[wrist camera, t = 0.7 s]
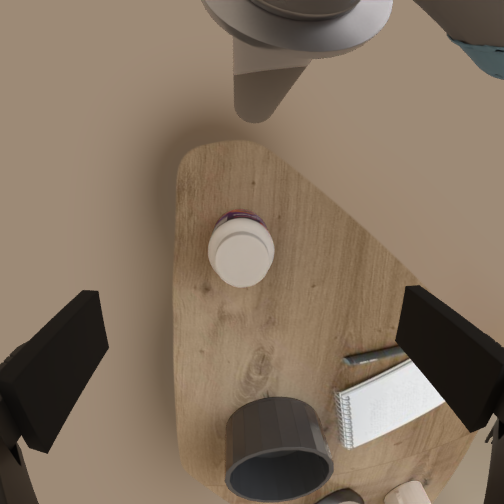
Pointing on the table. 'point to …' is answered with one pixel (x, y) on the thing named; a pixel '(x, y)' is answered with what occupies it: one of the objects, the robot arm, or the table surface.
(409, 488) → the mug
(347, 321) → the table surface
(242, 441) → the canister
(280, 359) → the table surface
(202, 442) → the table surface
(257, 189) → the table surface
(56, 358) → the robot arm
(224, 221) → the pill bottle
